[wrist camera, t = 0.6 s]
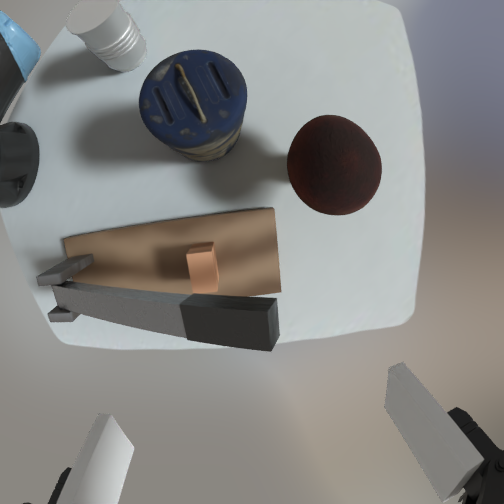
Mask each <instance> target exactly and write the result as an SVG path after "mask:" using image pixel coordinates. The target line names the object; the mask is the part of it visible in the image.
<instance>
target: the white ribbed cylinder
mask: <svg viewBox="0 0 504 504" xmlns="http://www.w3.org/2000/svg"><path fill="white" fill-rule="evenodd" d="M66 27H67V30H68V31H69V32H71V33H72V34H75V35H77V36H78V37H79V38H81V39H82V40H83V41H84V42H85V45H86V47H87V48H88V49H89V50H90V51H91V52H92V53H94V54H95V55H96V56H97V57H98V58H99V59H100V60H102V61H104V62H105V63H106V64H107V66H109V67H110V68H112V69H114V70H117V71H120V72H128V71H131V70H134V69H135V68H137V67H139V66H140V65H141V64H142V63H143V61H144V60H145V58H146V56H147V47H146V40H145V39H144V37H143V36H142V35H141V34H140V30H139V28H138V26H137V25H136V23H135V21H134V20H133V18H132V17H131V15H130V14H129V13H127V12H125V10H124V9H123V7H122V6H121V4H120V1H119V0H81V1H80V2H79V3H78V4H77V5H76V6H75V7H74V8H73V9H72V10H71V12H70V14H69V15H68V18H67V21H66Z"/></svg>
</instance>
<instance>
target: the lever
mask: <svg viewBox="0 0 504 504" xmlns="http://www.w3.org/2000/svg"><path fill="white" fill-rule="evenodd" d="M52 288H53V292H54V295H55V299H56V302H57V305H58V308H59V309H60V310H63V309H66V310H69V311H73V312H76V313H80V314H83V315H87V316H90V317H94V318H98V319H102V320H106V321H109V322H113V323H117V324H122V325H126V326H130V327H134V328H139V329H143V330H148V331H153V332H158V333H163V334H168V335H173V336H178V337H184V338H187V340H191V341H197V342H203V343H209V344H215V345H222V346H229V347H236V348H244V349H252V350H261V351H272V349H273V347H274V346H275V344H276V342H277V340H278V338H279V336H280V333H279V320H278V307H277V298H264V297H245V296H228V295H213V294H199V293H193V294H192V295H191V294H179V293H168V292H157V291H147V290H137V289H128V288H119V287H111V286H103V285H95V284H87V283H80V282H72V281H64V282H63V283H61V284H55V285H52Z"/></svg>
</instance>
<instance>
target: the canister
mask: <svg viewBox="0 0 504 504" xmlns="http://www.w3.org/2000/svg"><path fill="white" fill-rule="evenodd" d="M246 103H247V87H246V83H245V80H244V77H243V75H242V73H241V72H240V70H239V69H238V68H237V67H236V66H235V64H234V63H233V62H231V61H230V60H229V59H227V58H225V57H224V56H222V55H220V54H218V53H215V52H212V51H207V50H189V51H183V52H180V53H177V54H174V55H172V56H170V57H168V58H166V59H164V60H163V61H161V62H160V63H159V64H158V65H157V66H155V67H154V68H153V69H152V71H151V72H150V73H149V74H148V76H147V77H146V79H145V81H144V83H143V85H142V88H141V91H140V96H139V109H140V114H141V117H142V120H143V122H144V124H145V126H146V127H147V129H148V130H149V131H150V132H151V133H152V134H153V135H154V136H155V137H156V138H158V139H159V140H160V141H162V142H163V143H164V144H166V145H168V146H169V147H170V148H171V149H173V150H174V151H176V152H178V153H180V154H182V155H183V156H185V157H187V158H189V159H191V160H194V161H200V162H207V161H213V160H216V159H219V158H221V157H223V156H224V155H226V154H227V153H228V152H229V151H230V150H231V149H232V148H233V147H234V145H235V144H236V142H237V140H238V137H239V134H240V130H241V126H242V123H243V117H244V112H245V109H246Z"/></svg>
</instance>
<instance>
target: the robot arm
mask: <svg viewBox="0 0 504 504" xmlns="http://www.w3.org/2000/svg"><path fill="white" fill-rule="evenodd" d="M40 54H41V52H40V48H39V46H38V44H37V43H36V42H35V41H34V40H33V39H32V38H31V37H30V36H29V35H28V34H27V33H26V32H25V31H24V30H23V29H22V28H21V27H20V26H19V25H17V24H16V23H15V22H14V21H12V19H10V18H9V17H8V16H7V15H6V14H5V13H3V12H2V11H1V10H0V122H1V121H2V118H3V117H4V115H5V113H6V111H7V110H8V108H9V106H10V104H11V103H12V101H13V99H14V98H15V96H16V94H17V93H18V91H19V89H20V88H21V86H22V85H23V83H25V82H26V81H27V77H28V76H29V74H30V72H31V71H32V69H33V68H34V66H35V65H36V63H37V62H38V60H39V58H40ZM38 166H39V145H38V140H37V137H36V135H35V133H34V131H33V130H32V128H31V127H30V126H28V125H27V124H24V123H19V122H9V123H6V124H3V125H0V207H1V208H6V207H11V206H15V205H18V204H19V203H21V202H22V201H23V200H24V199H25V198H26V197H27V195H28V194H29V192H30V191H31V189H32V187H33V184H34V182H35V179H36V176H37V172H38ZM384 407H385V409H386V411H387V412H388V414H389V415H390V417H391V419H392V420H393V422H394V423H395V425H396V426H397V428H398V430H399V431H400V433H401V434H402V436H403V438H404V439H405V441H406V443H407V444H408V446H409V448H410V449H411V451H412V453H413V454H414V456H415V457H416V459H417V461H418V462H419V464H420V466H421V467H422V469H423V471H424V472H425V474H426V476H427V477H428V479H429V481H430V482H431V484H432V486H433V487H434V489H435V491H436V493H437V495H438V496H439V498H440V499H441V501H442V503H443V502H445V501H447V500H448V499H450V498H451V497H453V496H455V495H456V494H458V493H459V492H460V491H461V489H462V488H463V487H464V489H465V493H464V494H463V495H462V496H461V497H460V499H459V501H458V502H461V501H462V499H463V502H462V504H504V450H503V451H502V450H500V449H499V448H498V447H496V445H495V444H494V443H493V442H492V441H491V439H490V438H489V437H488V436H487V435H486V434H485V432H484V431H483V430H482V429H481V428H480V427H478V425H477V423H476V422H475V421H473V419H472V418H471V417H470V415H469V414H468V413H467V412H466V411H464V410H461V409H460V408H457V407H456V408H454V409H453V410H450V411H449V412H446V411H445V410H444V409H443V408H442V406H441V405H440V404H439V403H438V402H437V401H436V399H435V398H434V397H433V396H432V395H431V394H430V392H429V391H428V390H427V389H426V388H425V387H424V386H423V384H422V383H421V382H420V381H419V380H418V378H417V377H416V376H415V375H414V374H413V373H412V372H411V370H410V369H409V368H408V367H407V366H406V365H405V364H404V363H403V362H401V363H399V364H396V365H394V366H391V367H389V371H388V381H387V390H386V399H385V406H384ZM133 451H134V447H133V445H132V444H131V443H130V441H129V440H128V438H127V437H126V436H125V434H124V433H123V431H122V430H121V428H120V427H119V425H118V424H117V422H116V421H115V419H114V418H113V416H112V415H111V414H98V416H97V418H96V420H95V422H94V424H93V426H92V428H91V430H90V432H89V434H88V436H87V438H86V440H85V442H84V444H83V446H82V448H81V450H80V452H79V454H78V456H77V459H76V461H75V463H74V465H73V467H72V468H69V467H68V468H67V469H66V470H65V471H64V472H63V473H62V474H61V476H60V478H59V480H58V483H57V484H56V487H55V490H54V491H53V493H52V495H51V498H50V500H49V502H48V504H118V501H119V497H120V494H121V490H122V487H123V483H124V480H125V477H126V474H127V470H128V467H129V464H130V461H131V458H132V454H133ZM23 504H31V503H23Z"/></svg>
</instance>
